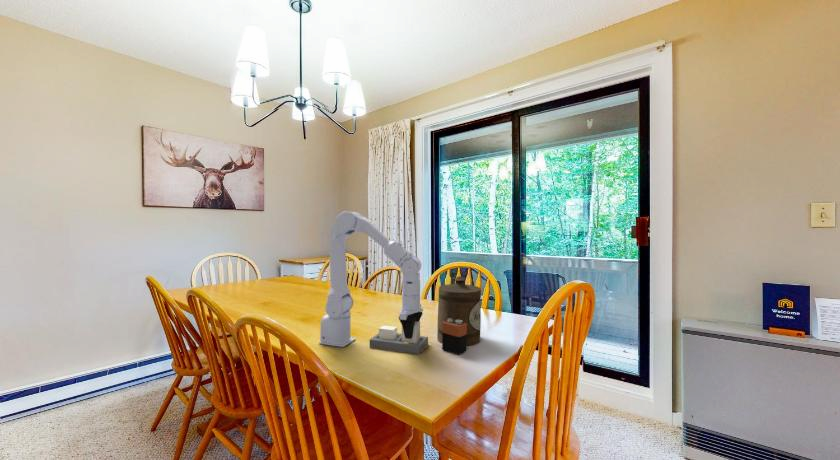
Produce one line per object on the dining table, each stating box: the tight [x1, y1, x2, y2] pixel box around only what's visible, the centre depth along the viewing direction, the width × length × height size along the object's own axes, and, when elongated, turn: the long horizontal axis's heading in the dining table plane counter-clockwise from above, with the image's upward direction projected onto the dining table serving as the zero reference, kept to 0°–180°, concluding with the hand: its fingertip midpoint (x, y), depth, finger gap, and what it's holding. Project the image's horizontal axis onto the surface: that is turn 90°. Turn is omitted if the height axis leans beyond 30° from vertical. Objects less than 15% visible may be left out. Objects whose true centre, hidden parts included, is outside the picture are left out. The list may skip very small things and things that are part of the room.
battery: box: [441, 318, 467, 356], centre depth 107 cm, size 4×7×10 cm, turn 49°
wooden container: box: [436, 276, 482, 347], centre depth 117 cm, size 15×15×22 cm
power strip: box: [369, 325, 429, 355], centre depth 111 cm, size 17×9×6 cm, turn 71°
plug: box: [401, 321, 421, 344], centre depth 109 cm, size 5×4×7 cm
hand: (410, 336), depth 109 cm, fingers closed on plug, 3 cm apart
